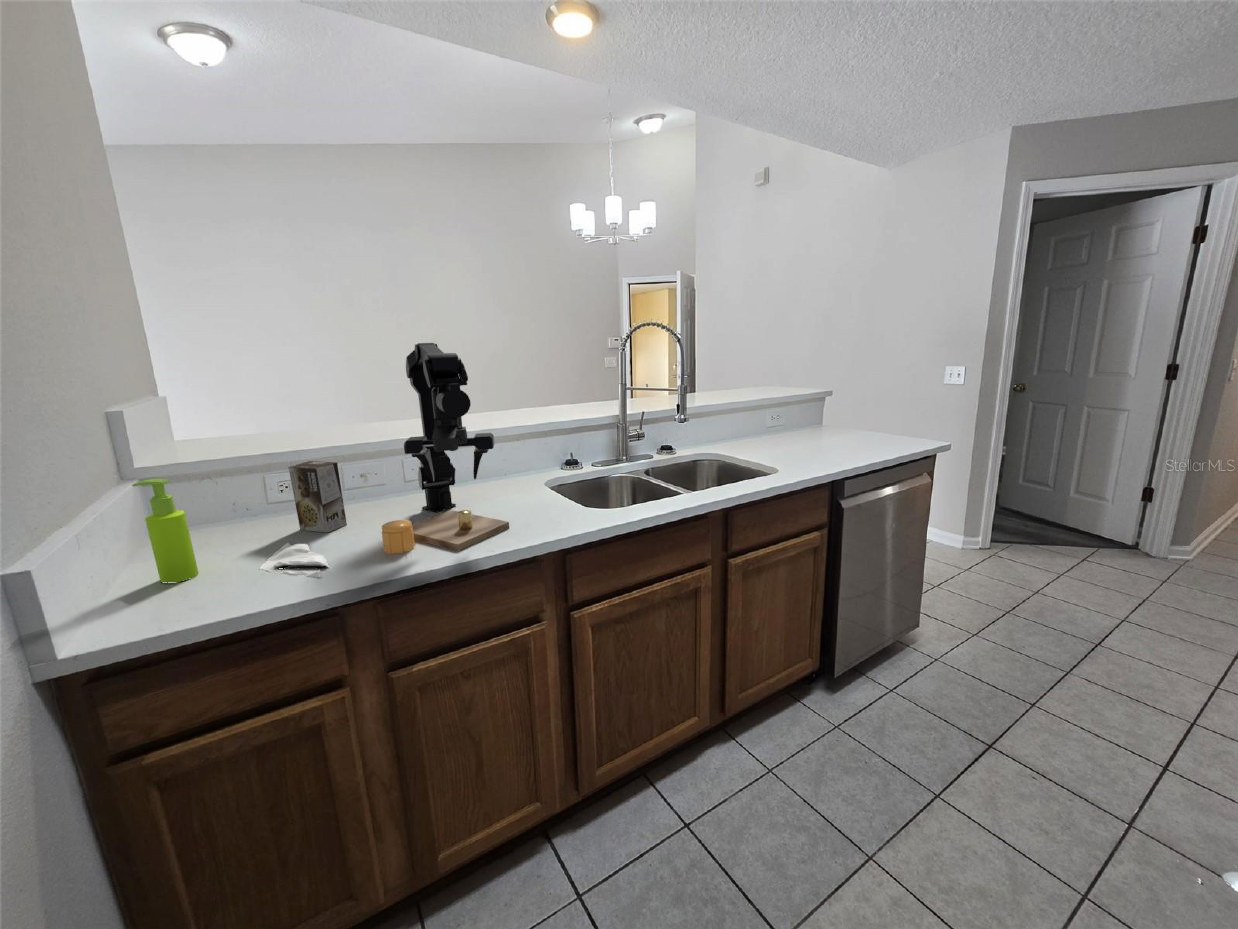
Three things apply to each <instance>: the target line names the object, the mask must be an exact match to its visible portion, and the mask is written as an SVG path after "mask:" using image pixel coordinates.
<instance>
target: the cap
mask: <svg viewBox="0 0 1238 929" xmlns="http://www.w3.org/2000/svg"><path fill="white" fill-rule="evenodd" d="M412 524H413V523H412V521H411V520H408V519H398V520H397V519H396V520H391V521H388V522H385V523H383V524H382V526H381V530H382V531H381V536H382V544H383V545H382V546H383V550H384V553H387V554H390V555H392V554H402V553H403V554H404V553H406V552H410V551H411V550H414V549H415V546H416V543H415V540H414V534H413V526H412ZM414 545H415V546H414Z"/></svg>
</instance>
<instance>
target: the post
mask: <svg viewBox="0 0 1238 929" xmlns="http://www.w3.org/2000/svg"><path fill="white" fill-rule="evenodd" d="M471 514H472V511H471V510H470V509H461V510H458V520H459V529H460V530H462V531H466V530H470V529H472V528H473V525H472V515H471Z"/></svg>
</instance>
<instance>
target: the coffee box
mask: <svg viewBox="0 0 1238 929" xmlns="http://www.w3.org/2000/svg"><path fill="white" fill-rule="evenodd" d="M338 466H339V465H338V462H336V461H335V462H334V461H314V460H309V461H305V462H301V463H297V464H296V465H292V466H288V471H289V478H290V483H291V488H292V493H293V498H294V502H295V503H294V504H295V508H296V509H295V510H296V514H297V520H298V524H299V529H300V531H309V532H319V533H329V532H332V531H334V530H337V529H340V528H342V527H345V526H347V524H348V523H347V519H346V511H345V504H344V498H343V492H342V485H341V484H342V483H341V480H340V478H341V477H340V472H339V467H338Z"/></svg>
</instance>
